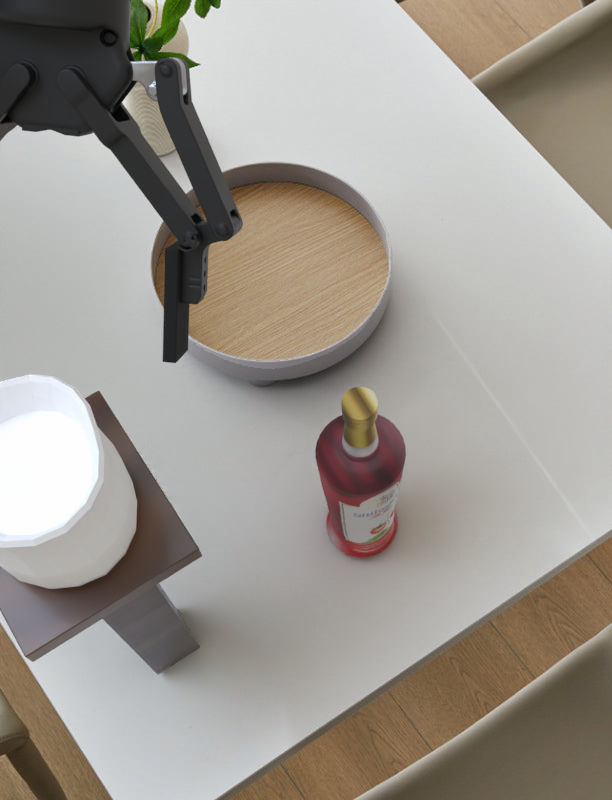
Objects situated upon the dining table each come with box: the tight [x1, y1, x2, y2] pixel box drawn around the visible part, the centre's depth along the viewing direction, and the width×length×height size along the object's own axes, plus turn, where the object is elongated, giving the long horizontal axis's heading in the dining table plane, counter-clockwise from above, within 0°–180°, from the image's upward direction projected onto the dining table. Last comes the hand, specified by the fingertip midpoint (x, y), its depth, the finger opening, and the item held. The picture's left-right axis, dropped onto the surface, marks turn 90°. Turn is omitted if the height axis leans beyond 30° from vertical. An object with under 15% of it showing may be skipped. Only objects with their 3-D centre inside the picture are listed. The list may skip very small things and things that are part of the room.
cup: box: [0, 373, 137, 589], centre depth 58 cm, size 10×10×10 cm
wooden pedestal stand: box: [0, 390, 203, 675], centre depth 78 cm, size 13×12×35 cm
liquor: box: [314, 386, 407, 558], centre depth 86 cm, size 7×7×28 cm
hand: (60, 343), depth 59 cm, fingers open, 13 cm apart
